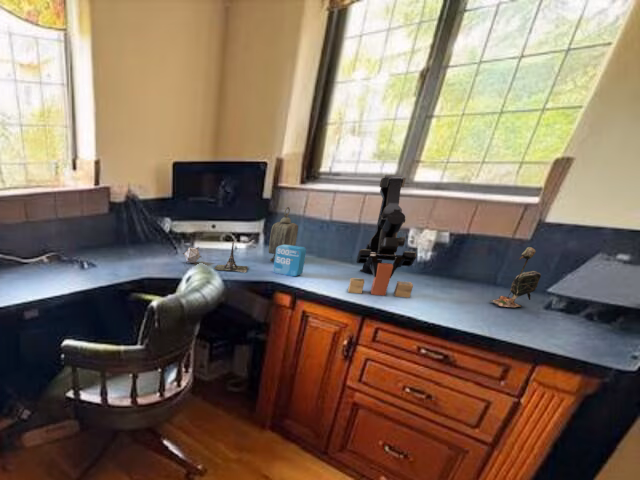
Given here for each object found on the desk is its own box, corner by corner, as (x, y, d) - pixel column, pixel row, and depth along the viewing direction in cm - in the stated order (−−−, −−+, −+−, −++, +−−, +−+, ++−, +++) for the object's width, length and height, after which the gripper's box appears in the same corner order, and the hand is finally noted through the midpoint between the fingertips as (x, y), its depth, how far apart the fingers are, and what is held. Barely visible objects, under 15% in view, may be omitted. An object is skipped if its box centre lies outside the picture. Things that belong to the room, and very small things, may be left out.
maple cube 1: (347, 289, 166) (350, 277, 164) (360, 290, 165) (363, 278, 162) (348, 292, 163) (351, 280, 160) (361, 293, 161) (364, 281, 159)
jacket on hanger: (276, 256, 219) (283, 205, 207) (293, 258, 215) (302, 206, 202) (266, 262, 209) (273, 208, 197) (284, 264, 204) (293, 209, 192)
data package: (272, 272, 192) (276, 245, 186) (277, 270, 194) (281, 243, 188) (297, 277, 184) (301, 249, 178) (302, 275, 186) (307, 247, 180)
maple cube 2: (393, 293, 161) (397, 281, 158) (407, 294, 159) (411, 282, 157) (395, 296, 157) (398, 284, 155) (409, 297, 155) (413, 285, 153)
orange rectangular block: (370, 291, 164) (377, 262, 158) (384, 292, 162) (392, 263, 157) (371, 294, 160) (379, 265, 154) (385, 295, 158) (393, 266, 153)
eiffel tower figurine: (248, 267, 201) (252, 238, 194) (245, 272, 193) (249, 242, 186) (217, 265, 206) (219, 237, 199) (213, 270, 197) (215, 240, 191)
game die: (194, 270, 213) (208, 254, 209) (188, 267, 206) (201, 250, 202) (183, 259, 216) (195, 243, 212) (176, 256, 209) (189, 239, 204)
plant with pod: (534, 310, 140) (563, 249, 131) (493, 307, 144) (519, 247, 134) (524, 303, 147) (550, 244, 137) (485, 300, 151) (508, 242, 141)
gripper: (365, 227, 156) (359, 263, 152) (423, 228, 149) (419, 267, 146) (358, 244, 166) (353, 279, 163) (413, 247, 160) (408, 283, 156)
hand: (382, 277), depth 157 cm, fingers closed on orange rectangular block, 5 cm apart
